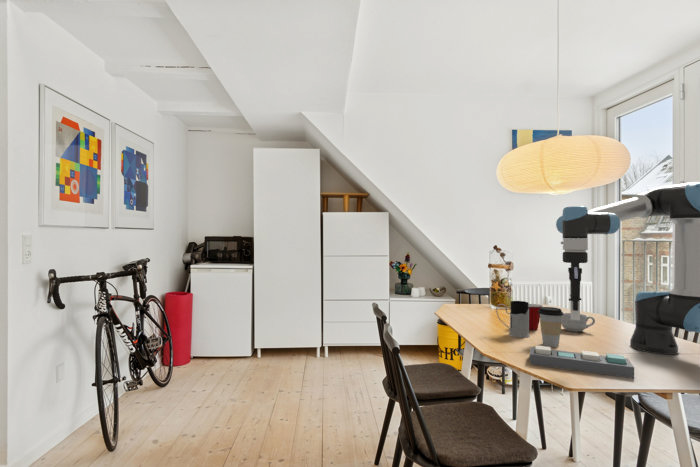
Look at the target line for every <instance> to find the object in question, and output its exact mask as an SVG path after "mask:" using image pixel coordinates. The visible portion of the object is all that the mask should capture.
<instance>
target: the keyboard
mask: <svg viewBox="0 0 700 467" xmlns="http://www.w3.org/2000/svg"><path fill="white" fill-rule="evenodd" d="M558 352H562V353H571V354H574V357H575V358H570V357H562V356H558ZM599 356H600V361H594V360H586V359H582V352H575V351H566V350H557V349H551V355H546V354H537V353H536V347H534V346H533V347H532V346H531V347H530V350H529V365H533V366H538V367H539V366H540V367H547V368H555V369H561V370H569V371H576V372H577V371H578V372H584V373H585V372H586V373H591V374H598V375H606V376H613V377H619V378H620V377H622V378H627V379H628V378H629V379H635V366H634V365H633V364H632V362H631V360H630V359H629V358H627V357H626V358H625V357H624V358H625V359H626V364H618V363H610V362H607V361H606V355H603V354H602V355H600V354H599Z"/></svg>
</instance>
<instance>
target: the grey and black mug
mask: <svg viewBox="0 0 700 467" xmlns="http://www.w3.org/2000/svg"><path fill="white" fill-rule="evenodd" d="M529 304H530V303H529V302H528V301H522V300H510V313H509V312H508V309H507V306H506V305H505V304H503V303H499V304H498V305H497V306H496V307H495V308H496V309H495V310H496V311H495V312H496V315H497V318H498V319H499V321H500V322H501V323H502V324H503V325H504V326H506V328H508V330H509V333H508V335H509V336H510V337H512V338H518V337H519V339H527V338H530V337H531V336H530V330H529ZM499 306H503V307H504V308H505V313H506V314H507V315H509V326H508V325H507V324H506V323H505V322H504V321H502V320H501V318H500V316H499V313H498V307H499Z"/></svg>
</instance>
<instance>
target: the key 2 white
mask: <svg viewBox="0 0 700 467" xmlns="http://www.w3.org/2000/svg"><path fill="white" fill-rule="evenodd" d="M581 353H582V359H586V360H594V361H600V356H599V355H600V354H599V352H597V351H589V350H587V351H586V350H581Z"/></svg>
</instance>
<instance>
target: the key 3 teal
mask: <svg viewBox="0 0 700 467" xmlns="http://www.w3.org/2000/svg"><path fill="white" fill-rule="evenodd" d="M558 356H562V357H570V358H575V357H574V354H571V353H562V352H558Z"/></svg>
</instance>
